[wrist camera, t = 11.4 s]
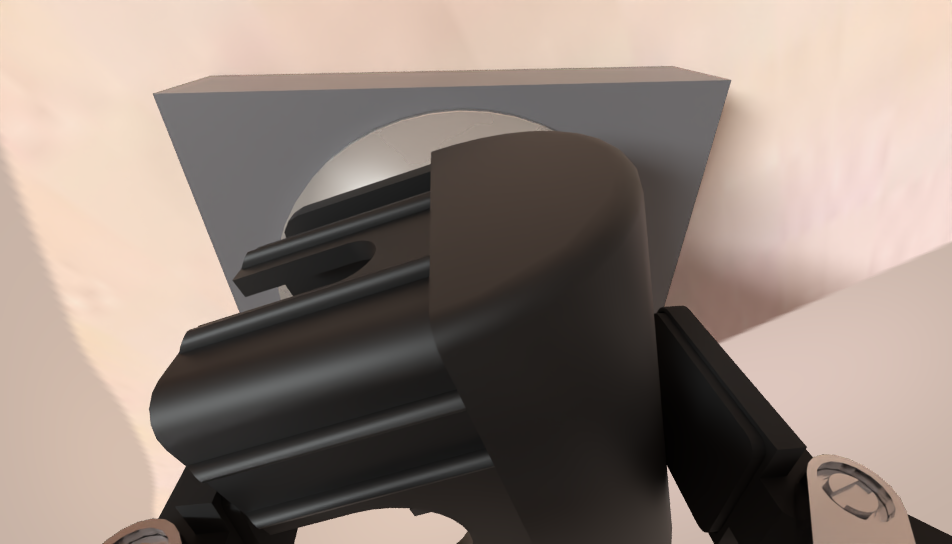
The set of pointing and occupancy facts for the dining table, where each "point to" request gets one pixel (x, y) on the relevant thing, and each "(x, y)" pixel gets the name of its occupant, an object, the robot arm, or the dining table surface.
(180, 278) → the dining table surface
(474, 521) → the end cap
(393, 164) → the grey domed push button
